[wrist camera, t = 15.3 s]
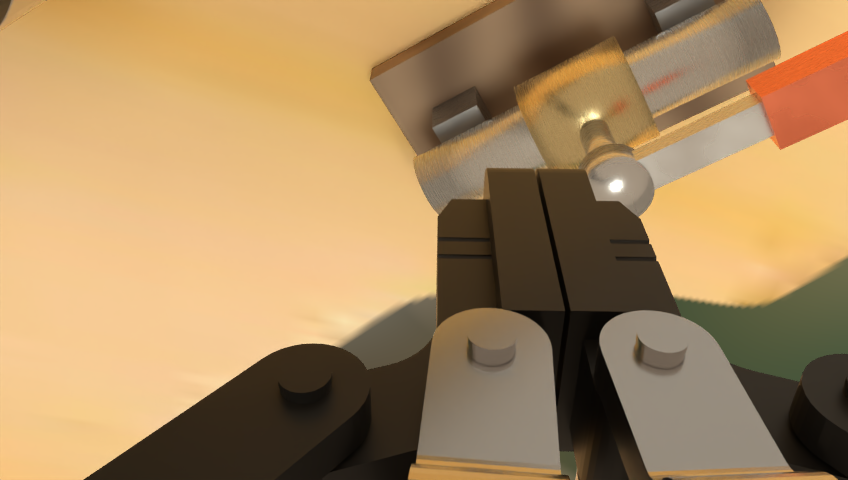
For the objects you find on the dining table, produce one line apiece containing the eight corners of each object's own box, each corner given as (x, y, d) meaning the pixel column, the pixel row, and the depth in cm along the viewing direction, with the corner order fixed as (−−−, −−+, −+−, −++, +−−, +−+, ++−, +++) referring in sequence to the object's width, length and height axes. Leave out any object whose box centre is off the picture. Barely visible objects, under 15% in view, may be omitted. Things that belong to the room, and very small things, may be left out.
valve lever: (566, 162, 36) (572, 182, 35) (909, -4, 32) (935, 10, 30) (593, 212, 38) (600, 234, 36) (924, 61, 34) (950, 78, 32)
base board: (705, -116, 43) (716, -110, 41) (767, 64, 49) (778, 75, 47) (372, 68, 49) (369, 80, 48) (460, 209, 55) (461, 224, 53)
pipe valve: (716, -50, 43) (801, 15, 33) (747, 41, 46) (836, 127, 36) (408, 112, 49) (399, 210, 38) (453, 185, 51) (456, 294, 41)
